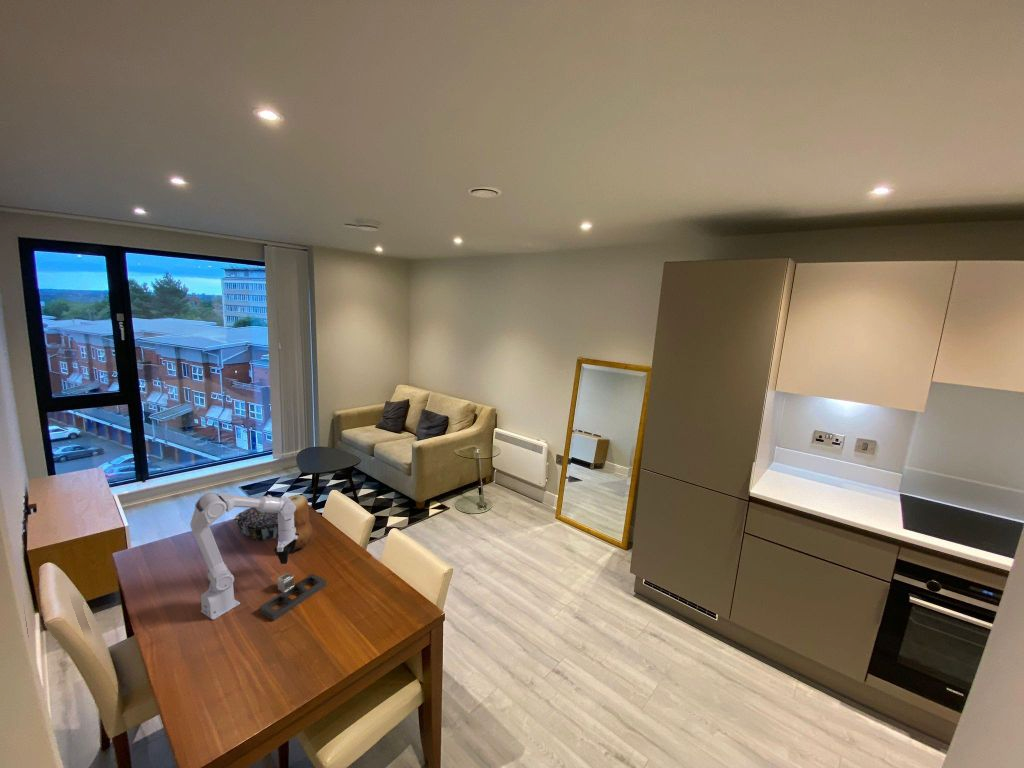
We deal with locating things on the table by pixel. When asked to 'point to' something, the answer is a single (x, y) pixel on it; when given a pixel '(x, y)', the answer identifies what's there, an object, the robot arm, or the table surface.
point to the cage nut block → (285, 582)
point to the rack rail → (289, 603)
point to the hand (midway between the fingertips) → (287, 557)
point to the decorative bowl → (257, 524)
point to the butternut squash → (301, 521)
